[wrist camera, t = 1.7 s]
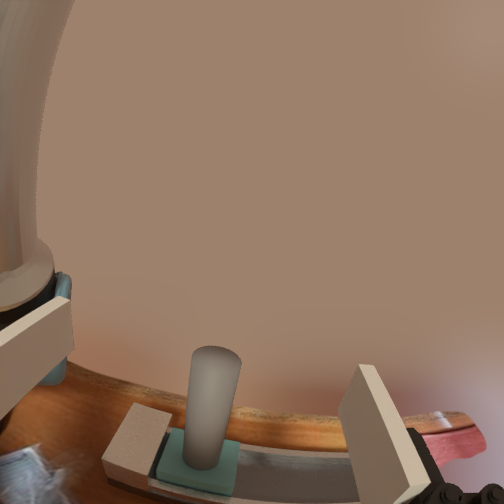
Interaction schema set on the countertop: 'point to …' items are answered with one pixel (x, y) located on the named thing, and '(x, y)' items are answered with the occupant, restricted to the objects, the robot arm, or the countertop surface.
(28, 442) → the countertop surface
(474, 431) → the countertop surface
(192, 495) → the rail track
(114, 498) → the countertop surface
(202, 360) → the carriage
